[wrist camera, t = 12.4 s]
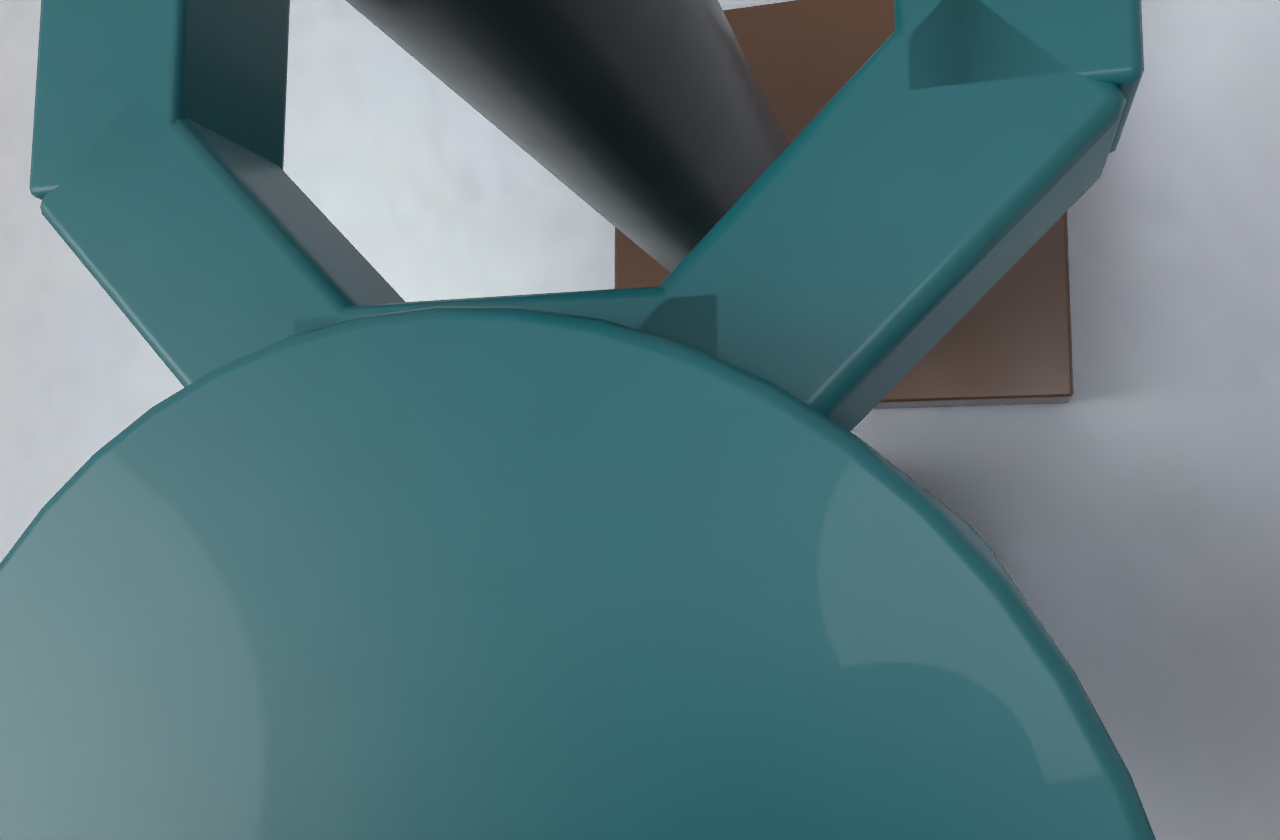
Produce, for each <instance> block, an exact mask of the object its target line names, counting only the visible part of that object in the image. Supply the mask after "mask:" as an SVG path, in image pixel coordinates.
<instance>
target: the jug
mask: <svg viewBox="0 0 1280 840" xmlns="http://www.w3.org/2000/svg"><path fill="white" fill-rule="evenodd" d="M289 8H290V0H41V16H40V32H39V48H38V64H37V80H36V96H35V111H34V127H33V143H32V159H31V175H30V191H31V194H32V195H33V196H35V197H36V198H39V199H41V200H42V203H41V206H40V208H41V211H42V214H43V215H44V217H45V218H46V219H47V220H48V221H49V223H50V224H51V225H52V226H53V228H54V229H55V230H56V231H57V232H58V234H59V235H60V236H61V237H62V239H63V240H64V241H65V242H66V243H67V245H68V246H69V247H70V248H71V250H72V251H73V252H74V253H75V254H76V256H77V257H78V258H79V259H80V260H81V262H82V263H83V264H84V265H85V267H86V268H87V269H88V270H89V271H90V273H91V274H92V275H93V276H94V278H95V279H96V280H97V281H98V282H99V284H100V285H101V286H102V287H103V289H104V290H105V291H106V292H107V293H108V295H109V296H110V297H111V298H112V299H113V301H114V302H115V303H116V304H117V306H118V307H119V308H120V309H121V310H122V312H123V313H124V314H125V315H126V317H127V318H128V319H129V320H130V321H131V323H132V324H133V325H134V326H135V328H136V329H137V330H138V331H139V332H140V334H141V335H142V336H143V337H144V339H145V340H146V341H147V342H148V343H149V345H150V346H151V347H152V348H153V349H154V351H155V352H156V353H157V354H158V356H159V357H160V358H161V359H162V360H163V362H164V363H165V364H166V365H167V367H168V368H169V369H170V370H171V371H172V373H173V374H174V375H175V376H176V378H177V379H178V380H179V381H180V382H181V384H182V385H183V386H184V387H185V388H183V389H182V390H180V391H179V392H177V393H175V394H174V395H172V396H170V397H169V398H167V399H165V400H164V401H162V402H160V403H159V404H157V405H156V406H154V407H152V408H151V409H150V410H148V411H147V412H146V413H145V414H143V415H142V416H141V417H140V418H138V419H137V420H136V421H135V422H133V423H132V424H131V425H130V426H128V427H127V428H126V429H125V430H124V431H122V432H121V433H120V434H119V435H117V436H116V437H115V438H114V439H112V440H111V441H110V442H109V443H107V444H106V445H105V446H104V447H102V448H101V449H100V450H99V451H97V452H96V453H95V454H94V455H93V456H92V457H91V458H90V459H89V460H88V461H87V462H86V463H85V464H84V465H83V466H82V467H81V468H80V469H79V470H78V471H77V472H76V474H75V475H74V476H73V477H72V478H71V479H70V480H69V481H68V482H67V483H66V484H65V485H64V486H63V487H62V488H61V489H60V490H59V491H58V492H57V493H56V494H55V495H54V496H53V497H52V498H51V499H50V500H49V502H48V503H47V504H46V505H45V506H44V507H43V508H42V509H41V510H40V512H39V513H38V514H37V516H36V517H35V518H34V520H33V521H32V522H31V524H30V525H29V526H28V528H27V529H26V530H25V532H24V533H23V534H22V536H21V537H20V538H19V540H18V541H17V542H16V544H15V545H14V546H13V548H12V549H11V550H10V552H9V553H8V554H7V555H6V557H5V558H4V559H3V561H2V562H1V563H0V840H1156V839H1155V836H1154V834H1153V831H1152V829H1151V826H1150V824H1149V821H1148V818H1147V816H1146V813H1145V811H1144V808H1143V806H1142V803H1141V800H1140V798H1139V795H1138V793H1137V790H1136V788H1135V785H1134V782H1133V780H1132V777H1131V775H1130V773H1129V771H1128V769H1127V768H1126V766H1125V764H1124V762H1123V760H1122V758H1121V757H1120V755H1119V753H1118V751H1117V749H1116V747H1115V745H1114V744H1113V742H1112V740H1111V738H1110V736H1109V734H1108V733H1107V731H1106V729H1105V727H1104V725H1103V723H1102V721H1101V720H1100V718H1099V716H1098V714H1097V712H1096V710H1095V709H1094V707H1093V705H1092V703H1091V701H1090V699H1089V697H1088V696H1087V694H1086V692H1085V690H1084V688H1083V686H1082V685H1081V683H1080V681H1079V679H1078V677H1077V675H1076V674H1075V672H1074V670H1073V669H1072V668H1071V666H1070V665H1069V663H1068V662H1067V660H1066V659H1065V657H1064V656H1063V654H1062V653H1061V651H1060V650H1059V648H1058V647H1057V645H1056V644H1055V643H1054V641H1053V640H1052V638H1051V637H1050V635H1049V634H1048V632H1047V631H1046V629H1045V628H1044V626H1043V625H1042V623H1041V622H1040V620H1039V619H1038V618H1037V616H1036V615H1035V613H1034V612H1033V610H1032V609H1031V607H1030V606H1029V604H1028V603H1027V601H1026V600H1025V598H1024V597H1023V595H1022V594H1021V593H1020V591H1019V590H1018V588H1017V587H1016V585H1015V584H1014V582H1013V581H1012V579H1011V578H1010V576H1009V575H1008V573H1007V572H1006V571H1005V569H1004V568H1003V566H1002V565H1001V563H1000V562H999V560H998V559H997V558H996V556H995V555H994V553H993V552H992V551H991V549H990V548H989V547H988V545H987V544H986V543H985V542H984V541H983V540H982V538H981V537H980V536H979V535H978V534H977V533H976V532H975V531H974V530H973V529H972V528H971V527H970V526H969V525H968V524H967V523H966V522H965V521H963V520H962V519H961V518H960V517H959V516H957V515H956V514H955V513H954V512H953V511H951V510H950V509H949V508H948V507H946V506H945V505H944V504H942V503H941V502H940V501H939V500H937V499H936V498H935V497H934V496H932V495H931V494H930V493H928V492H927V491H926V490H925V489H923V488H922V487H921V486H920V485H918V484H917V483H916V482H914V481H913V480H912V479H911V478H909V477H908V476H907V475H906V474H904V473H903V472H902V471H900V470H899V469H898V468H897V467H895V466H894V465H893V464H892V463H890V462H889V461H888V460H886V459H885V458H884V457H883V456H881V455H880V454H879V453H877V452H876V451H875V450H874V449H872V448H871V447H870V446H869V445H867V444H866V443H865V442H863V441H862V440H861V439H860V438H858V437H857V436H856V435H854V434H852V433H851V432H850V431H851V430H852V429H853V428H854V427H855V426H856V425H857V424H858V423H859V422H860V421H861V420H862V419H863V418H864V417H865V416H866V415H867V414H868V413H869V412H870V411H871V410H872V409H873V408H874V407H875V406H876V405H877V404H878V403H879V402H880V401H881V400H882V399H883V398H884V397H885V396H886V395H887V394H888V393H889V392H890V391H891V390H892V389H893V388H894V387H895V386H896V385H897V384H898V382H899V381H900V380H901V379H902V378H903V377H904V376H905V375H906V374H907V373H908V372H909V371H910V370H911V369H912V368H913V367H914V366H915V365H916V364H917V363H918V362H919V361H920V360H921V359H922V358H923V357H924V356H925V355H926V354H927V353H928V352H929V351H930V350H931V349H932V348H933V347H934V346H935V345H936V344H937V343H938V342H939V341H940V340H941V339H942V338H943V337H944V336H945V335H946V334H947V333H948V332H949V331H950V329H951V328H952V327H953V326H954V325H955V324H956V323H957V322H958V321H959V320H960V319H961V318H962V317H963V316H964V315H965V314H966V313H967V312H968V311H969V310H970V309H971V308H972V307H973V306H974V305H975V304H976V303H977V302H978V301H979V300H980V299H981V298H982V297H983V296H984V295H985V294H986V293H987V292H988V291H989V290H990V289H991V288H992V287H993V286H994V285H995V284H996V283H997V282H998V281H999V280H1000V279H1001V278H1002V276H1003V275H1004V274H1005V273H1006V272H1007V271H1008V270H1009V269H1010V268H1011V267H1012V266H1013V265H1014V264H1015V263H1016V262H1017V261H1018V260H1019V259H1020V258H1021V257H1022V256H1023V255H1024V254H1025V253H1026V252H1027V251H1028V250H1029V249H1030V248H1031V247H1032V246H1033V245H1034V244H1035V243H1036V242H1037V241H1038V240H1039V239H1040V238H1041V237H1042V236H1043V235H1044V234H1045V233H1046V232H1047V231H1048V230H1049V229H1050V228H1051V227H1052V226H1053V225H1054V223H1055V222H1056V221H1057V220H1058V219H1059V218H1060V217H1061V216H1062V215H1063V214H1064V213H1065V212H1066V211H1067V210H1068V209H1069V208H1070V207H1071V206H1072V205H1073V204H1074V203H1075V202H1076V201H1077V200H1078V199H1079V198H1080V197H1081V196H1082V195H1083V194H1084V193H1085V192H1086V191H1087V190H1088V189H1089V188H1090V187H1091V186H1092V185H1093V184H1094V183H1095V182H1096V181H1097V180H1098V179H1099V178H1100V175H1101V173H1102V170H1103V168H1104V166H1105V163H1106V160H1107V157H1108V154H1109V153H1111V152H1113V151H1115V149H1116V146H1117V144H1118V141H1119V139H1120V136H1121V133H1122V130H1123V127H1124V125H1125V122H1126V119H1127V116H1128V113H1129V110H1130V108H1131V105H1132V102H1133V99H1134V96H1135V93H1136V91H1137V88H1138V85H1139V82H1140V79H1141V77H1142V74H1143V71H1144V59H1143V36H1142V12H1141V0H894V20H895V31H894V32H893V33H892V34H891V35H890V36H889V37H888V38H887V40H886V41H885V42H884V43H883V44H882V45H881V46H880V47H879V48H878V49H877V50H876V51H875V53H874V54H873V55H872V56H871V57H870V58H869V59H868V60H867V61H866V62H865V63H864V64H863V66H862V67H861V68H860V69H859V70H858V71H857V72H856V73H855V74H854V75H853V76H852V77H851V78H850V80H849V81H848V82H847V83H846V84H845V85H844V86H843V87H842V88H841V89H840V90H839V91H838V93H837V94H836V95H835V96H834V97H833V98H832V99H831V100H830V101H829V102H828V103H827V104H826V106H825V107H824V108H823V109H822V110H821V111H820V112H819V113H818V114H817V115H816V116H815V117H814V119H813V120H812V121H811V122H810V123H809V124H808V125H807V126H806V127H805V128H804V129H803V130H802V131H801V133H800V134H799V135H798V136H797V137H796V138H795V139H794V140H793V141H792V142H791V143H790V144H789V146H788V147H787V148H786V149H785V150H784V151H783V152H782V153H781V154H780V155H779V156H778V157H777V159H776V160H775V161H774V162H773V163H772V164H771V165H770V166H769V167H768V168H767V169H766V170H765V171H764V173H763V174H762V175H761V176H760V177H759V178H758V179H757V180H756V181H755V182H754V183H753V184H752V186H751V187H750V188H749V189H748V190H747V191H746V192H745V193H744V194H743V195H742V196H741V197H740V199H739V200H738V201H737V202H736V203H735V204H734V205H733V206H732V207H731V208H730V209H729V210H728V212H727V213H726V214H725V215H724V216H723V217H722V218H721V219H720V220H719V221H718V222H717V223H716V224H715V226H714V227H713V228H712V229H711V230H710V231H709V232H708V233H707V234H706V235H705V236H704V237H703V239H702V240H701V241H700V242H699V243H698V244H697V245H696V246H695V247H694V248H693V249H692V250H691V252H690V253H689V254H688V255H687V256H686V257H685V258H684V259H683V260H682V261H681V262H680V263H679V264H678V266H677V267H676V268H675V269H674V270H673V271H672V272H671V273H670V274H669V275H668V276H667V277H666V279H665V280H664V281H663V282H662V283H661V284H660V285H659V286H658V287H643V288H627V289H611V290H595V291H579V292H563V293H547V294H531V295H515V296H499V297H483V298H467V299H451V300H435V301H419V302H405V301H404V300H403V299H402V298H401V297H400V296H399V295H398V294H397V292H396V291H395V290H394V289H393V288H392V287H391V286H390V285H389V284H388V283H387V282H386V281H385V280H384V279H383V277H382V276H381V275H380V274H379V273H378V272H377V271H376V270H375V269H374V268H373V267H372V266H371V265H370V264H369V262H368V261H367V260H366V259H365V258H364V257H363V256H362V255H361V254H360V253H359V252H358V251H357V250H356V249H355V247H354V246H353V245H352V244H351V243H350V242H349V241H348V240H347V239H346V238H345V237H344V236H343V235H342V233H341V232H340V231H339V230H338V229H337V228H336V227H335V226H334V225H333V224H332V223H331V222H330V221H329V220H328V218H327V217H326V216H325V215H324V214H323V213H322V212H321V211H320V210H319V209H318V208H317V207H316V206H315V205H314V203H313V202H312V201H311V200H310V199H309V198H308V197H307V196H306V195H305V194H304V193H303V192H302V191H301V190H300V188H299V187H298V186H297V185H296V184H295V183H294V182H293V181H292V180H291V179H290V178H289V177H288V176H287V175H286V173H285V172H284V171H283V161H284V135H285V110H286V85H287V59H288V34H289Z"/></svg>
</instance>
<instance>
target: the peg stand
mask: <svg viewBox="0 0 1280 840" xmlns="http://www.w3.org/2000/svg"><path fill="white" fill-rule="evenodd" d="M346 1H347V2H348V3H349V4H351V5H352V6H353V7H354V8H355V9H357V10H358V11H359V12H360V13H361V14H363V15H364V16H365V17H366V18H367V19H368V20H370V21H371V22H372V23H373V24H374V25H376V26H377V27H378V28H379V29H380V30H382V31H383V32H384V33H385V34H386V35H388V36H389V37H390V38H391V39H392V40H393V41H395V42H396V43H397V44H398V45H399V46H401V47H402V48H403V49H404V50H405V51H407V52H408V53H409V54H410V55H411V56H413V57H414V58H415V59H416V60H417V61H419V62H420V63H421V64H422V65H423V66H424V67H426V68H427V69H428V70H429V71H430V72H432V73H433V74H434V75H435V76H436V77H438V78H439V79H440V80H441V81H442V82H444V83H445V84H446V85H447V86H448V87H449V88H451V89H452V90H453V91H454V92H455V93H457V94H458V95H459V96H460V97H461V98H463V99H464V100H465V101H466V102H467V103H469V104H470V105H471V106H472V107H473V108H474V109H476V110H477V111H478V112H479V113H480V114H482V115H483V116H484V117H485V118H486V119H488V120H489V121H490V122H491V123H492V124H494V125H495V126H496V127H497V128H498V129H499V130H501V131H502V132H503V133H504V134H505V135H507V136H508V137H509V138H510V139H511V140H513V141H514V142H515V143H516V144H517V145H519V146H520V147H521V148H522V149H523V150H525V151H526V152H527V153H528V154H529V155H530V156H532V157H533V158H534V159H535V160H536V161H538V162H539V163H540V164H541V165H542V166H544V167H545V168H546V169H547V170H548V171H550V172H551V173H552V174H553V175H554V176H555V177H557V178H558V179H559V180H560V181H561V182H563V183H564V184H565V185H566V186H567V187H569V188H570V189H571V190H572V191H573V192H575V193H576V194H577V195H578V196H579V197H580V198H582V199H583V200H584V201H585V202H586V203H588V204H589V205H590V206H591V207H592V208H594V209H595V210H596V211H597V212H598V213H600V214H601V215H602V216H603V217H604V218H605V219H607V220H608V221H609V222H610V223H611V224H613V225H614V226H615V289H627V288H643V287H658V286H659V285H660V284H661V283H662V282H663V281H664V280H665V279H666V277H667V276H668V275H669V274H670V273H671V272H672V271H673V270H674V269H675V268H676V267H677V266H678V264H679V263H680V262H681V261H682V260H683V259H684V258H685V257H686V256H687V255H688V254H689V253H690V252H691V250H692V249H693V248H694V247H695V246H696V245H697V244H698V243H699V242H700V241H701V240H702V239H703V237H704V236H705V235H706V234H707V233H708V232H709V231H710V230H711V229H712V228H713V227H714V226H715V224H716V223H717V222H718V221H719V220H720V219H721V218H722V217H723V216H724V215H725V214H726V213H727V212H728V210H729V209H730V208H731V207H732V206H733V205H734V204H735V203H736V202H737V201H738V200H739V199H740V197H741V196H742V195H743V194H744V193H745V192H746V191H747V190H748V189H749V188H750V187H751V186H752V184H753V183H754V182H755V181H756V180H757V179H758V178H759V177H760V176H761V175H762V174H763V173H764V171H765V170H766V169H767V168H768V167H769V166H770V165H771V164H772V163H773V162H774V161H775V160H776V159H777V157H778V156H779V155H780V154H781V153H782V152H783V151H784V150H785V149H786V148H787V147H788V146H789V144H790V143H791V142H792V141H793V140H794V139H795V138H796V137H797V136H798V135H799V134H800V133H801V131H802V130H803V129H804V128H805V127H806V126H807V125H808V124H809V123H810V122H811V121H812V120H813V119H814V117H815V116H816V115H817V114H818V113H819V112H820V111H821V110H822V109H823V108H824V107H825V106H826V104H827V103H828V102H829V101H830V100H831V99H832V98H833V97H834V96H835V95H836V94H837V93H838V91H839V90H840V89H841V88H842V87H843V86H844V85H845V84H846V83H847V82H848V81H849V80H850V78H851V77H852V76H853V75H854V74H855V73H856V72H857V71H858V70H859V69H860V68H861V67H862V66H863V64H864V63H865V62H866V61H867V60H868V59H869V58H870V57H871V56H872V55H873V54H874V53H875V51H876V50H877V49H878V48H879V47H880V46H881V45H882V44H883V43H884V42H885V41H886V40H887V38H888V37H889V36H890V35H891V34H892V33H893V32H894V31H895V20H894V0H796V1H789V2H782V3H774V4H767V5H760V6H753V7H746V8H739V9H731V10H724V11H723V10H722V8H721V6H720V4H719V2H718V0H346ZM1072 395H1073V369H1072V342H1071V315H1070V288H1069V261H1068V234H1067V211H1066V212H1065V213H1064V214H1063V215H1062V216H1061V217H1060V218H1059V219H1058V220H1057V221H1056V222H1055V223H1054V225H1053V226H1052V227H1051V228H1050V229H1049V230H1048V231H1047V232H1046V233H1045V234H1044V235H1043V236H1042V237H1041V238H1040V239H1039V240H1038V241H1037V242H1036V243H1035V244H1034V245H1033V246H1032V247H1031V248H1030V249H1029V250H1028V251H1027V252H1026V253H1025V254H1024V255H1023V256H1022V257H1021V258H1020V259H1019V260H1018V261H1017V262H1016V263H1015V264H1014V265H1013V266H1012V267H1011V268H1010V269H1009V270H1008V271H1007V272H1006V273H1005V274H1004V275H1003V276H1002V278H1001V279H1000V280H999V281H998V282H997V283H996V284H995V285H994V286H993V287H992V288H991V289H990V290H989V291H988V292H987V293H986V294H985V295H984V296H983V297H982V298H981V299H980V300H979V301H978V302H977V303H976V304H975V305H974V306H973V307H972V308H971V309H970V310H969V311H968V312H967V313H966V314H965V315H964V316H963V317H962V318H961V319H960V320H959V321H958V322H957V323H956V324H955V325H954V326H953V327H952V328H951V329H950V331H949V332H948V333H947V334H946V335H945V336H944V337H943V338H942V339H941V340H940V341H939V342H938V343H937V344H936V345H935V346H934V347H933V348H932V349H931V350H930V351H929V352H928V353H927V354H926V355H925V356H924V357H923V358H922V359H921V360H920V361H919V362H918V363H917V364H916V365H915V366H914V367H913V368H912V369H911V370H910V371H909V372H908V373H907V374H906V375H905V376H904V377H903V378H902V379H901V380H900V381H899V382H898V384H897V385H896V386H895V387H894V388H893V389H892V390H891V391H890V392H889V393H888V394H887V395H886V396H885V397H884V398H883V399H882V400H881V401H880V402H879V403H878V404H877V405H876V406H875V407H874V408H873V409H875V408H909V407H943V406H978V405H1012V404H1046V403H1067V402H1068V401H1069V400H1070V398H1071V397H1072Z"/></svg>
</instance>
